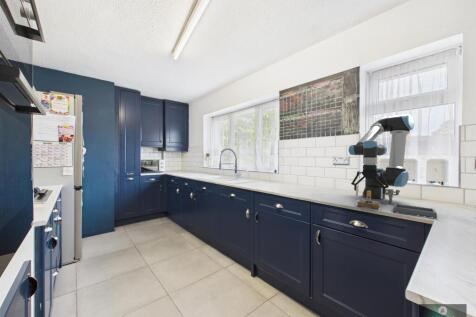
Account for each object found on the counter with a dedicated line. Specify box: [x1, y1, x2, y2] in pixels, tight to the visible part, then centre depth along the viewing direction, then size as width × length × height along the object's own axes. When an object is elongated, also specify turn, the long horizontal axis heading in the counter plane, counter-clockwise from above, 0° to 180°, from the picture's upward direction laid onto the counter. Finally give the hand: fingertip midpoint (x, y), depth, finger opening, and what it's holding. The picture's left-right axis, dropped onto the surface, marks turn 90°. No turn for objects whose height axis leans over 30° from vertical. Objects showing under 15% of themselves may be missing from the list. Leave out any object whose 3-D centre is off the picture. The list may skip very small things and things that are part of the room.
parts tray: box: [393, 203, 438, 219], centre depth 116 cm, size 11×18×3 cm, turn 52°
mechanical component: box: [385, 188, 401, 205], centre depth 138 cm, size 3×10×10 cm, turn 78°
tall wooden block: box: [366, 191, 372, 203], centre depth 130 cm, size 5×2×10 cm, turn 142°
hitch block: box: [357, 198, 380, 211], centre depth 130 cm, size 11×11×3 cm
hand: (368, 197), depth 130 cm, fingers open, 13 cm apart
